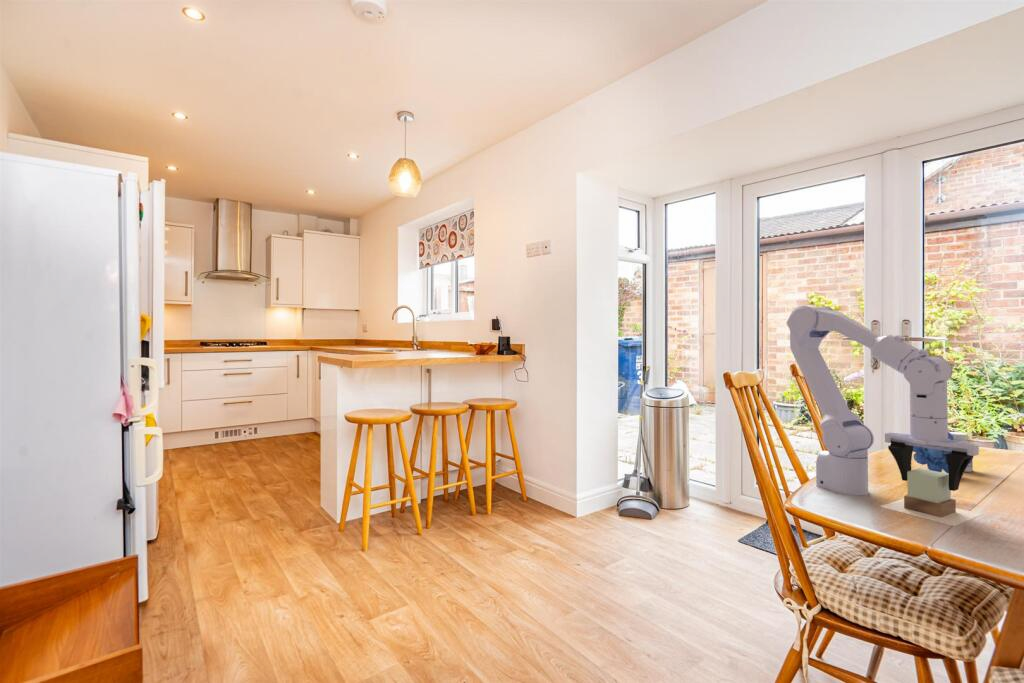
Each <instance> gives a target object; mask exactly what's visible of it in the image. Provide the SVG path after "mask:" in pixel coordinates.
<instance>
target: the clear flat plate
mask: <svg viewBox="0 0 1024 683" xmlns="http://www.w3.org/2000/svg"><path fill="white" fill-rule="evenodd" d="M879 507H880V508H883V509H887V510H892V511H895V512H899V513H902V514H907V515H910V516H915V517H918V518H922V519H926V520H929V521H932V522H937V523H942V524H944V525H945V524H946V525H949V526H953V527H955V526H957V525H960V524H963V523H966V522H967V521H970V520H973V519H975V518H978V517H979V516H982V515H983V513H979V512H975V511H970V510H966V509H963V508H959V507H956V512H955V513H952V514H950V515H947V516H944V517H942V518H941V517H937V516H933V515H929V514H925V513H921V512H917V511H913V510H909V509H905V508H904V498H902V499H899V500H895V501H892V502H888V503H885V504H883V505H880V506H879Z"/></svg>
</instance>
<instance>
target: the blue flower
mask: <svg viewBox="0 0 1024 683" xmlns="http://www.w3.org/2000/svg"><path fill="white" fill-rule="evenodd" d="M949 432H950V431H948V439H950V440H954V438H953V436H952V434H950V433H949ZM930 446H933V445H930ZM937 447H939V446H937ZM912 453H914V454H913V460H914V461H915V462H916V463H917V464H920V465H922V466H923V465H926V466H927V470H932V471H937V472H942V471H944V473H948V474H949V471H948V464H947V460H946V454H949V453H952V452H949V451H943V450H936V449H930V448H924V447H917V446H914V447H913V452H912ZM942 473H943V472H942Z"/></svg>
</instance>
